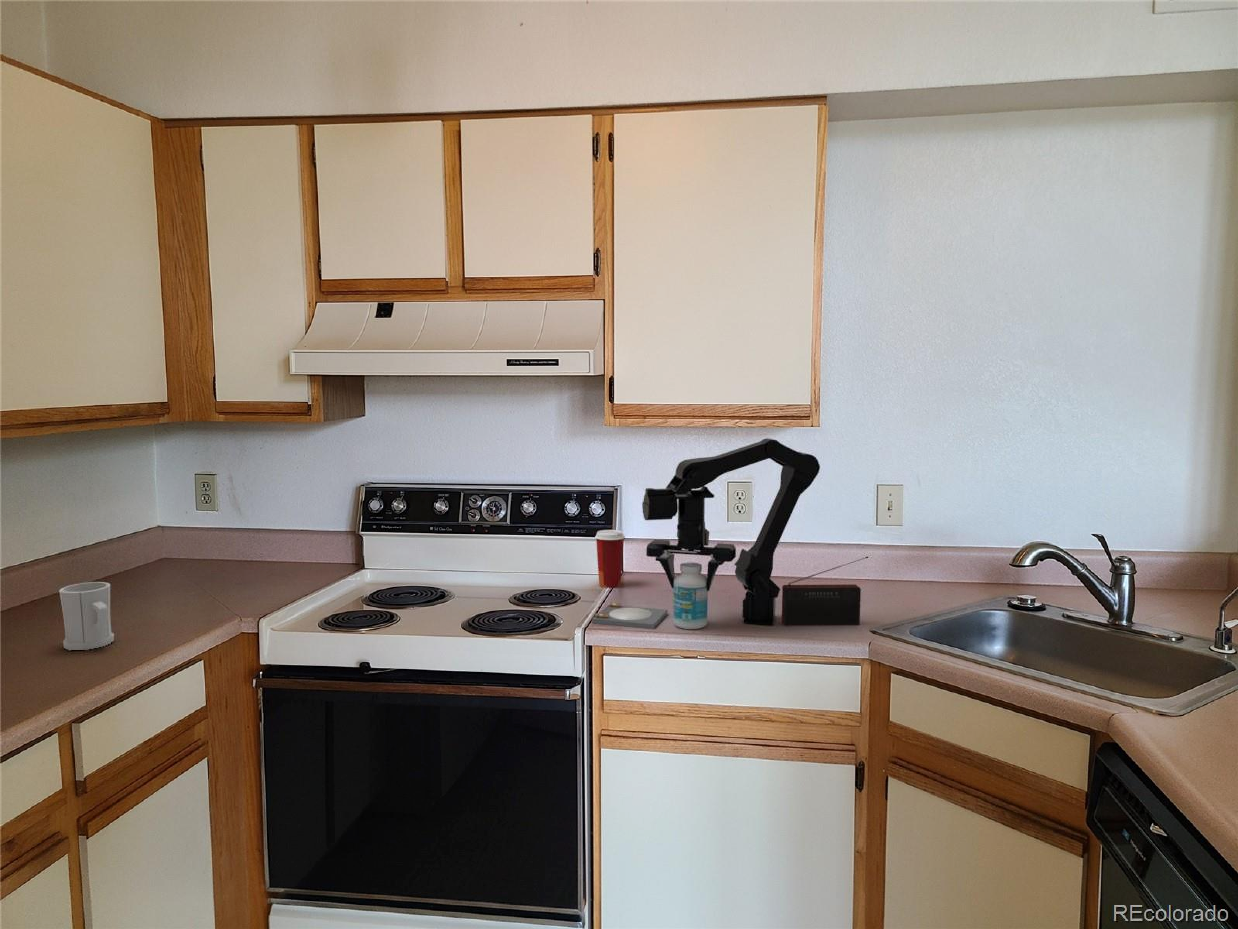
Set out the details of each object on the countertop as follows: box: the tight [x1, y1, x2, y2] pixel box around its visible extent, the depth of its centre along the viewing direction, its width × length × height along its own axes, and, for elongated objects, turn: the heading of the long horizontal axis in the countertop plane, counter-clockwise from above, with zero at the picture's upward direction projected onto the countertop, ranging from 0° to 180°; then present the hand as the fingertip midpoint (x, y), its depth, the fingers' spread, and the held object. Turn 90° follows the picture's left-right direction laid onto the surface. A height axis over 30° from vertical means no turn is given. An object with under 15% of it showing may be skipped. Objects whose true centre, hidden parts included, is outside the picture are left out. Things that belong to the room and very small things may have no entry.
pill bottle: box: [672, 561, 709, 630], centre depth 187 cm, size 8×7×14 cm
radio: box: [781, 556, 869, 627], centre depth 187 cm, size 19×3×15 cm, turn 91°
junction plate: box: [591, 602, 668, 630], centre depth 193 cm, size 14×12×2 cm
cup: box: [58, 581, 115, 651], centre depth 174 cm, size 10×9×12 cm
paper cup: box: [594, 529, 626, 589], centre depth 222 cm, size 8×8×14 cm
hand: (690, 589), depth 186 cm, fingers closed on pill bottle, 7 cm apart
